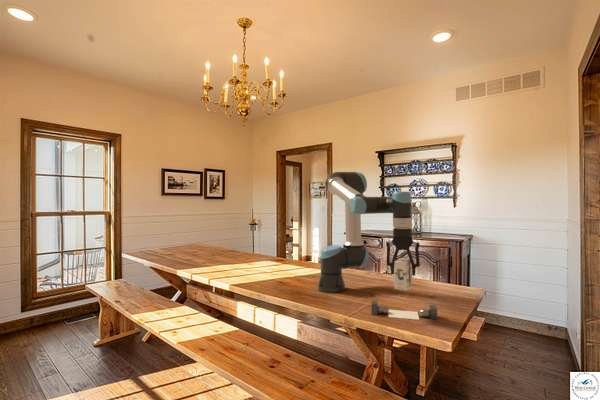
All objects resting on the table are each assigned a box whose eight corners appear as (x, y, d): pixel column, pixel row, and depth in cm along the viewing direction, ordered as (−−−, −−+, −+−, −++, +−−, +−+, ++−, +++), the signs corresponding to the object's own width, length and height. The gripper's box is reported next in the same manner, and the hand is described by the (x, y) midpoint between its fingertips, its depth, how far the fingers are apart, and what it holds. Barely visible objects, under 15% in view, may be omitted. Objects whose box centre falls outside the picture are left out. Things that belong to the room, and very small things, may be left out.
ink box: (399, 284, 139) (399, 257, 139) (411, 285, 136) (411, 258, 136) (394, 289, 131) (394, 260, 131) (406, 290, 129) (406, 261, 129)
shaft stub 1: (371, 314, 135) (371, 304, 135) (372, 310, 140) (372, 300, 140) (387, 315, 133) (387, 305, 133) (387, 311, 138) (387, 301, 138)
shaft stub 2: (420, 318, 130) (420, 307, 130) (419, 314, 134) (419, 303, 134) (437, 320, 128) (437, 309, 128) (435, 315, 133) (435, 305, 133)
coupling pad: (388, 317, 131) (388, 316, 131) (388, 310, 140) (388, 309, 140) (419, 320, 128) (419, 319, 128) (417, 312, 136) (417, 311, 136)
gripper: (378, 228, 133) (379, 283, 133) (427, 228, 128) (428, 286, 127) (379, 227, 140) (380, 279, 140) (425, 227, 135) (426, 281, 135)
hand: (403, 282), depth 134 cm, fingers closed on ink box, 6 cm apart
